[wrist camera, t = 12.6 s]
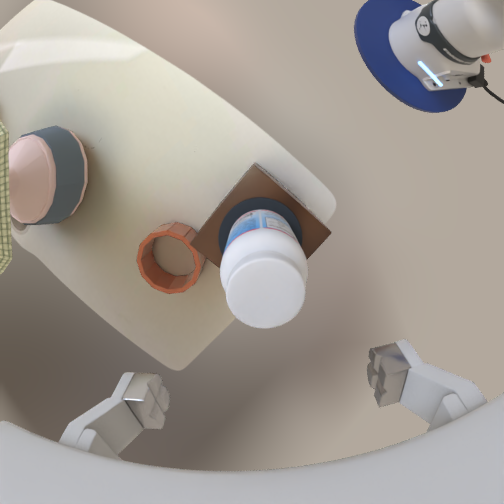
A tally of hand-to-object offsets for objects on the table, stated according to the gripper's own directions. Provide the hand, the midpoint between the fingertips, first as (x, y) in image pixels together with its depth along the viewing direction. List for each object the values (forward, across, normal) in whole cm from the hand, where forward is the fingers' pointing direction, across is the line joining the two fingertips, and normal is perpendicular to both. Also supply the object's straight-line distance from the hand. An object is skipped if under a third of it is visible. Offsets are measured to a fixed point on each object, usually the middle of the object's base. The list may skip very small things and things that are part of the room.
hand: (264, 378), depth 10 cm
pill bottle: (+18, 0, 0) cm, 18 cm away
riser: (+38, 0, 0) cm, 38 cm away
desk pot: (+38, +16, +6) cm, 41 cm away
